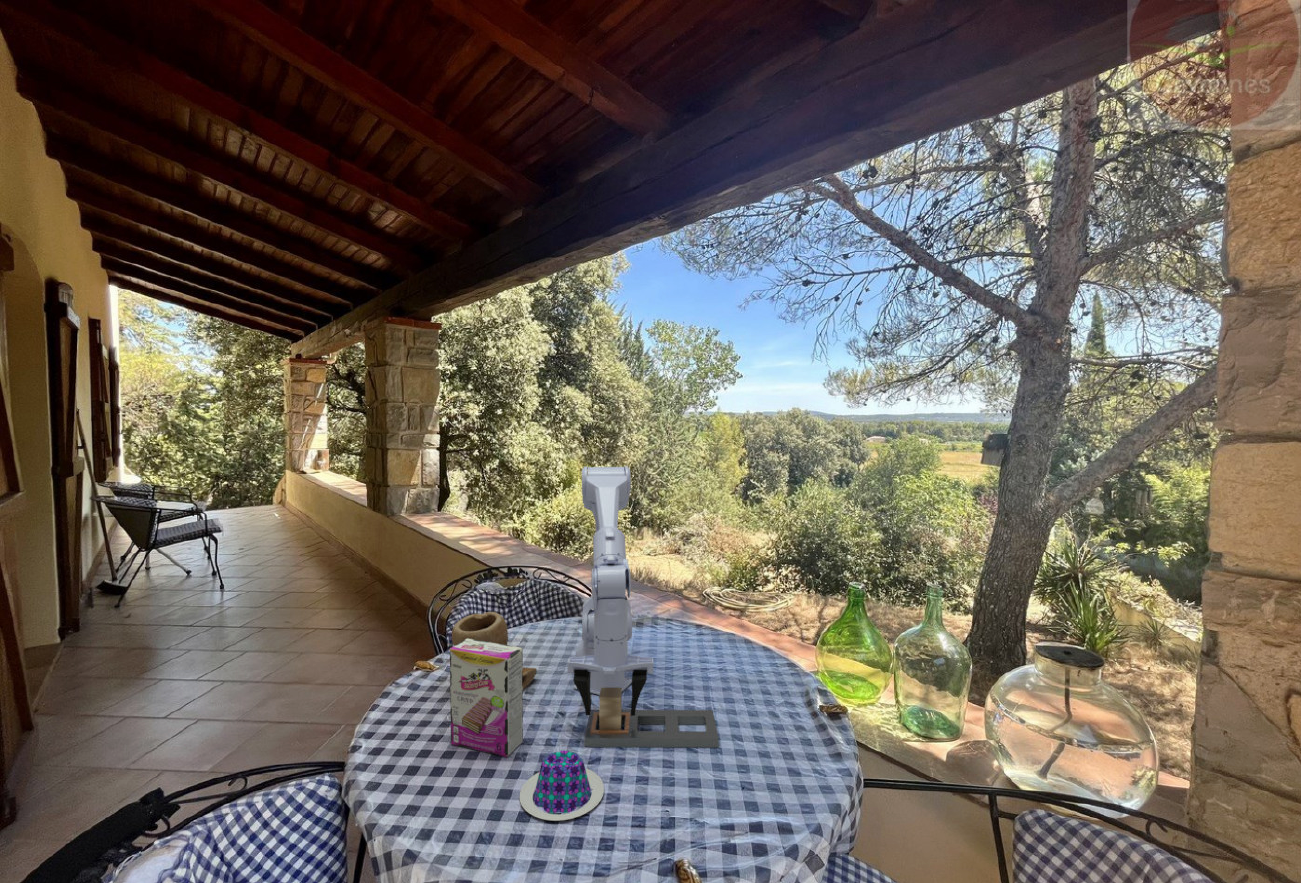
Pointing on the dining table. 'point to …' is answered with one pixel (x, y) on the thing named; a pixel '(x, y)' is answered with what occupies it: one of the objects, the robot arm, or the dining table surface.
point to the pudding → (561, 788)
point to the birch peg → (610, 708)
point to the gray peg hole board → (654, 738)
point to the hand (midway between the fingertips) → (610, 712)
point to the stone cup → (487, 634)
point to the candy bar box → (486, 696)
